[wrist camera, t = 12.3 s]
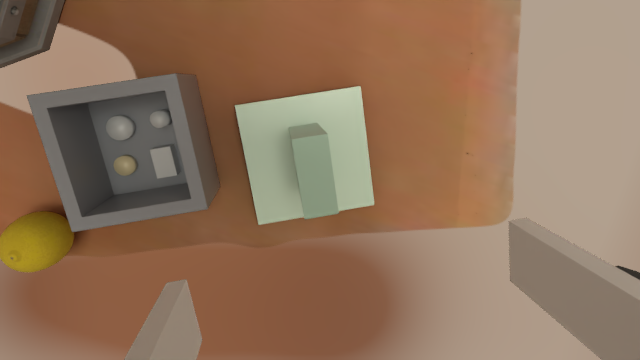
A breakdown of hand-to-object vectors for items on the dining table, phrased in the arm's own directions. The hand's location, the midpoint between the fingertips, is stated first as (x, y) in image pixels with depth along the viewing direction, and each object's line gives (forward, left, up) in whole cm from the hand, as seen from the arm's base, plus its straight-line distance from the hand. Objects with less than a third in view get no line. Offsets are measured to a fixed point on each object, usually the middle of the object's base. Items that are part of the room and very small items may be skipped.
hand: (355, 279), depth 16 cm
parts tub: (-4, -16, -29) cm, 33 cm away
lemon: (+4, -28, -29) cm, 40 cm away
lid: (0, 0, -29) cm, 29 cm away
